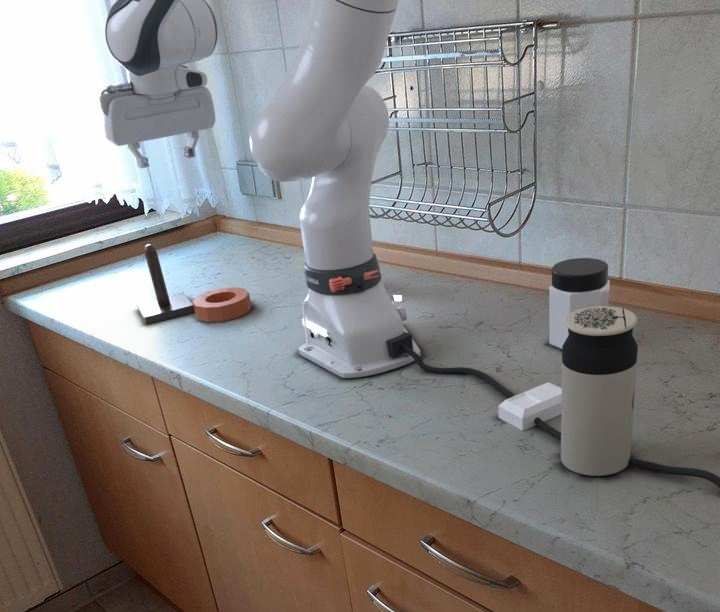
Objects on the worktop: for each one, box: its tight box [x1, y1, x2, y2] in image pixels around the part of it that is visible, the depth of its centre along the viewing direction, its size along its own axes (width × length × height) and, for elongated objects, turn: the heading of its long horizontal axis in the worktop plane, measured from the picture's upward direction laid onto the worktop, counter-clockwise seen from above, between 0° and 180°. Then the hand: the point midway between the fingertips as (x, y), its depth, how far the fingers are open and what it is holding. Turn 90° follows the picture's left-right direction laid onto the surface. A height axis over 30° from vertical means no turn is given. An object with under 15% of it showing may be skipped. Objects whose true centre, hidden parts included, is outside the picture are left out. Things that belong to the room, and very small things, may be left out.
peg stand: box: [136, 243, 195, 325], centre depth 158 cm, size 10×10×14 cm
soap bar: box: [497, 382, 562, 432], centre depth 106 cm, size 5×9×3 cm, turn 120°
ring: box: [192, 286, 253, 323], centre depth 156 cm, size 11×11×3 cm
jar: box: [548, 257, 611, 350], centre depth 121 cm, size 9×8×12 cm
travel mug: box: [560, 305, 639, 477], centre depth 90 cm, size 8×8×18 cm
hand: (167, 162), depth 144 cm, fingers open, 8 cm apart
